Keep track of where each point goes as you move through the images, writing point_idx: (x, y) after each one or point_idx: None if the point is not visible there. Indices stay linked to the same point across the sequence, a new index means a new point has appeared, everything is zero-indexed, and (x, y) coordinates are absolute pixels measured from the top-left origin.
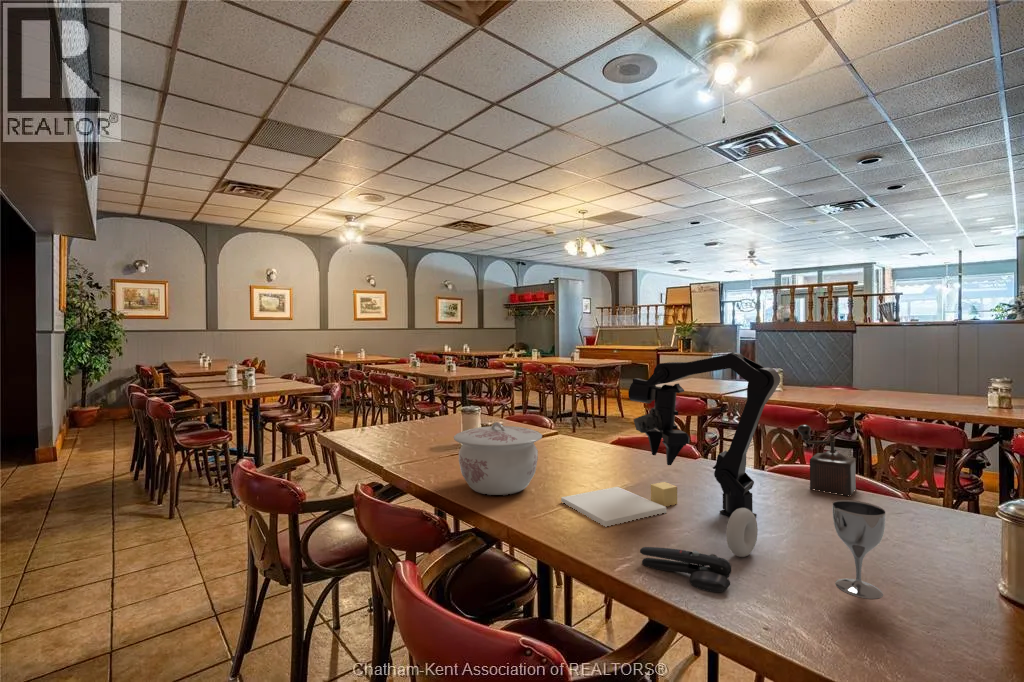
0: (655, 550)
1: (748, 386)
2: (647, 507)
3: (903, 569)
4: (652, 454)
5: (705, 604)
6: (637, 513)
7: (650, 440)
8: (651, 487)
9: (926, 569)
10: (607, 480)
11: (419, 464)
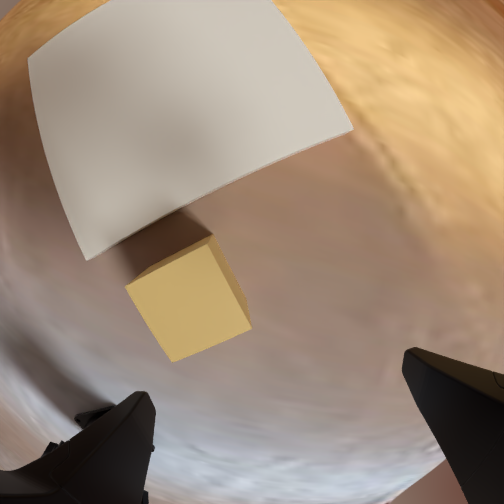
0: None
1: None
2: (84, 186)
3: (7, 455)
4: (408, 350)
5: None
6: (43, 141)
7: (496, 401)
8: (202, 244)
9: None
10: (451, 150)
11: None
